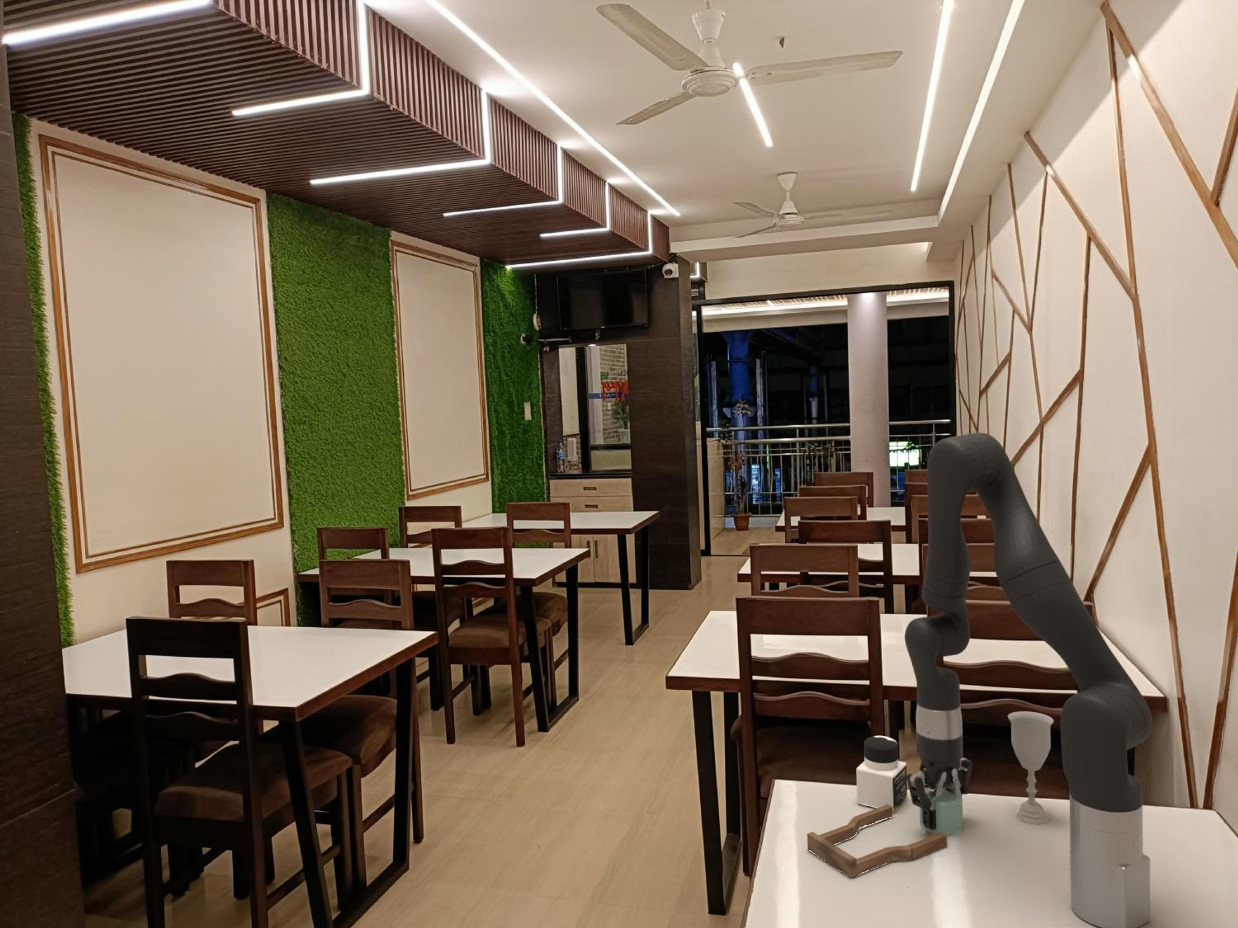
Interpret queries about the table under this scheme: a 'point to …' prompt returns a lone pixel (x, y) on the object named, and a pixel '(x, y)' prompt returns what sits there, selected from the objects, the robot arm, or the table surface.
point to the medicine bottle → (881, 774)
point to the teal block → (947, 814)
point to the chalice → (1031, 756)
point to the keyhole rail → (854, 867)
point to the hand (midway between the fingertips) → (941, 823)
